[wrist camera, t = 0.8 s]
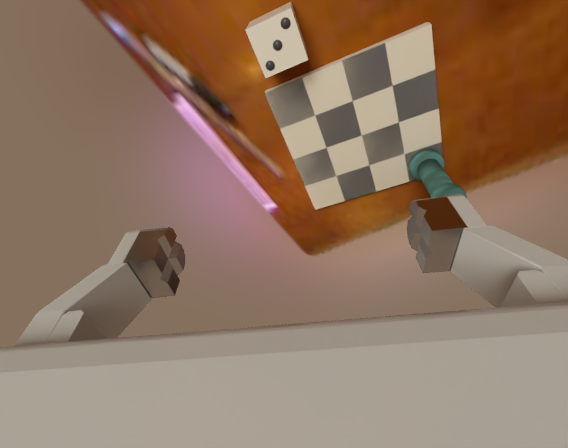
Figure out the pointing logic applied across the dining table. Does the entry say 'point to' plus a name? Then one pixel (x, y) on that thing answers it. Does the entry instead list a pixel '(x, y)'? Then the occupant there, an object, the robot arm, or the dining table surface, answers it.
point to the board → (361, 117)
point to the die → (277, 40)
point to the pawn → (433, 174)
